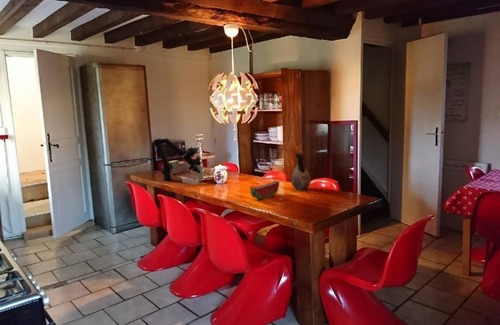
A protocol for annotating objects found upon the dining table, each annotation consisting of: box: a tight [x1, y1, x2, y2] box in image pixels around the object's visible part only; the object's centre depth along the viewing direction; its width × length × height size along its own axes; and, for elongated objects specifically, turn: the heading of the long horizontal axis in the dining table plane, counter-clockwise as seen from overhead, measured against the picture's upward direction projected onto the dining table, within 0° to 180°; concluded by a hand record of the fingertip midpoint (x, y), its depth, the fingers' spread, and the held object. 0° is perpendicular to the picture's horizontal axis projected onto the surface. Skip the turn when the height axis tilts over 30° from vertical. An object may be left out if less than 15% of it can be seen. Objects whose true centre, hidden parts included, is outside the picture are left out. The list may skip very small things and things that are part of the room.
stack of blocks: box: [168, 159, 187, 176], centre depth 375 cm, size 21×6×12 cm, turn 141°
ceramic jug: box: [290, 152, 312, 192], centre depth 288 cm, size 17×15×30 cm
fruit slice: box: [249, 180, 280, 200], centre depth 273 cm, size 26×6×10 cm, turn 134°
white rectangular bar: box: [181, 177, 200, 186], centre depth 327 cm, size 18×2×4 cm, turn 55°
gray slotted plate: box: [196, 164, 204, 182], centre depth 335 cm, size 6×3×13 cm, turn 165°
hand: (201, 172), depth 334 cm, fingers closed on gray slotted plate, 6 cm apart
